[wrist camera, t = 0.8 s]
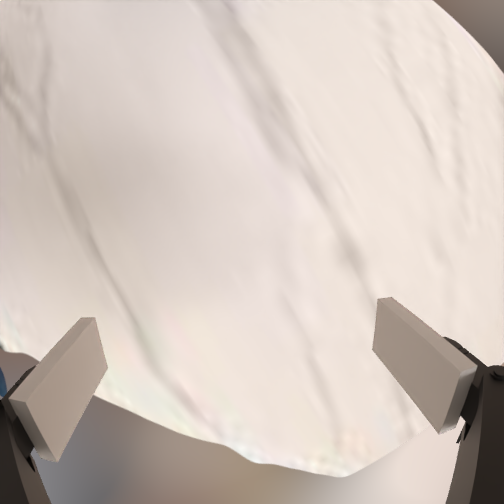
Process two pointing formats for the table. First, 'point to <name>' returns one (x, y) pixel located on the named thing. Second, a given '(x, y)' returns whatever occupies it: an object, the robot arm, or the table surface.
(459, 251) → the table surface
